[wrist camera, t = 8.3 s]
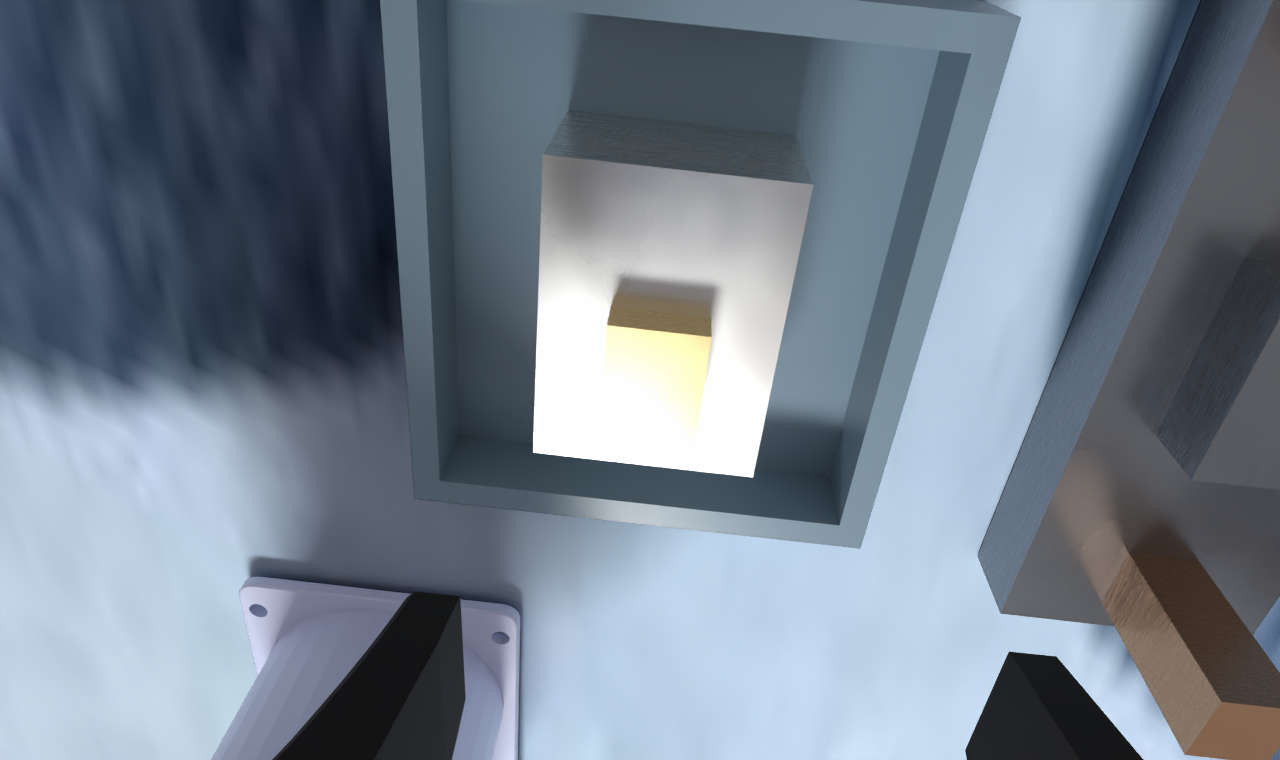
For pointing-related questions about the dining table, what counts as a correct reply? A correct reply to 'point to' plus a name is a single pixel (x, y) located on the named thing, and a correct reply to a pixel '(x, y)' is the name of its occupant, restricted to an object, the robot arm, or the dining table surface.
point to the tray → (699, 94)
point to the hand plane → (1173, 408)
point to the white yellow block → (663, 289)
